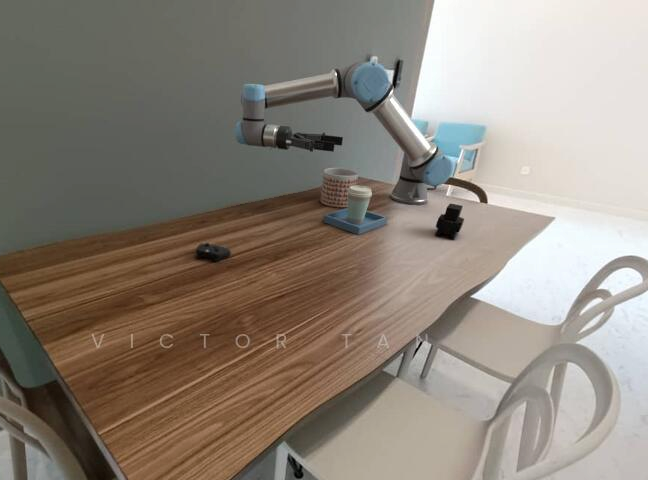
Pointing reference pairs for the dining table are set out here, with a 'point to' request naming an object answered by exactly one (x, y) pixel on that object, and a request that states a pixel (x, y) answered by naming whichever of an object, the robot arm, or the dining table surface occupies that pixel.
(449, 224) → the toy
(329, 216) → the tray
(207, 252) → the game controller
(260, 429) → the dining table surface
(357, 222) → the coffee cup
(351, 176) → the planter
